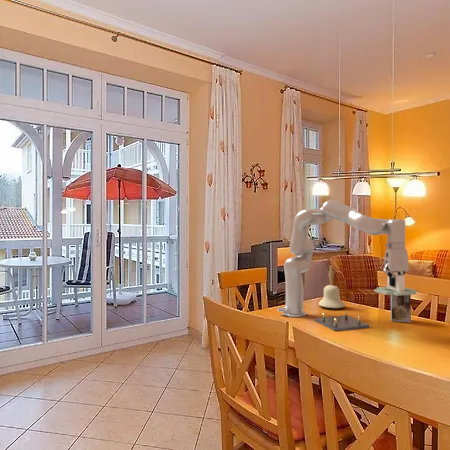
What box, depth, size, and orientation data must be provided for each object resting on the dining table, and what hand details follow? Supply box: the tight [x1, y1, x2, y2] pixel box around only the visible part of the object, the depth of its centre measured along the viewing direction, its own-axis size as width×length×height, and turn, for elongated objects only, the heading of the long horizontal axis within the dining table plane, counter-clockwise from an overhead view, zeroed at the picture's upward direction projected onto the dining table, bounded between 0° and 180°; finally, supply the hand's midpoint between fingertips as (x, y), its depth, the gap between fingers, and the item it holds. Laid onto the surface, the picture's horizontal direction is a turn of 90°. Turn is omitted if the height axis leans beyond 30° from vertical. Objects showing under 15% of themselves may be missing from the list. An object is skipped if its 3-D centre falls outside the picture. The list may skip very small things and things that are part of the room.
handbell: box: [318, 264, 346, 309], centre depth 225 cm, size 15×15×25 cm
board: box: [373, 272, 418, 296], centre depth 176 cm, size 17×14×8 cm
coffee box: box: [390, 294, 412, 324], centre depth 196 cm, size 9×6×16 cm
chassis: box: [314, 310, 370, 332], centre depth 191 cm, size 19×19×5 cm
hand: (395, 285), depth 176 cm, fingers closed on board, 3 cm apart
